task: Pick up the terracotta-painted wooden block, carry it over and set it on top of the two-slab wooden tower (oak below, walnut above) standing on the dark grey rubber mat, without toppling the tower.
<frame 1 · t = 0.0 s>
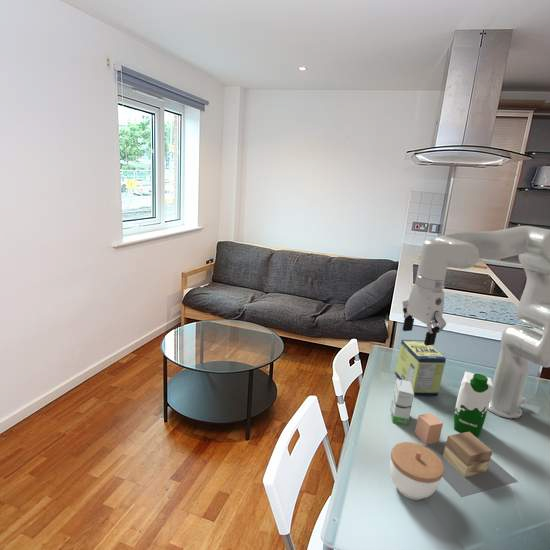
hand: (417, 337, 114), 31 cm above the table, tool pointing down, fingers open, 9 cm apart
lidded bowl: (410, 488, 99), on the table
oak slab: (464, 463, 108), resting on rubber mat, touching walnut slab
walnut slab: (466, 453, 107), point 4 cm above the table, touching oak slab
protein box: (415, 385, 149), on the table
milk carton: (465, 428, 125), on the table
terracotta block: (426, 438, 118), on the table
rubber mat: (463, 464, 108), on the table
ink box: (398, 417, 127), on the table
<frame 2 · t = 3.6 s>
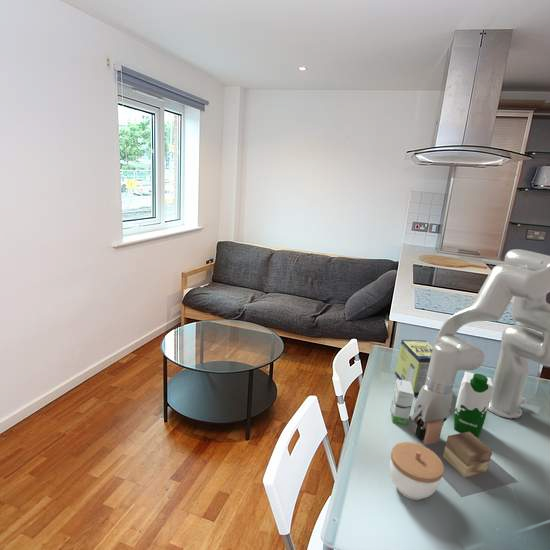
hand: (426, 435, 118), 1 cm above the table, tool pointing down, fingers closed on terracotta block, 5 cm apart
terracotta block: (426, 438, 118), on the table, touching gripper
everything else where it was.
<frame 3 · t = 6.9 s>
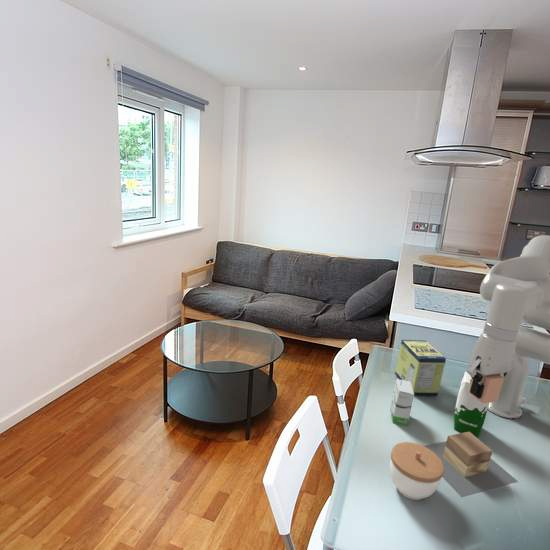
hand: (483, 393, 102), 23 cm above the table, tool pointing down, fingers closed on terracotta block, 5 cm apart
terracotta block: (482, 396, 102), point 22 cm above the table, touching gripper
everything else where it was.
when the fingers open (9 cm above the table, at t = 10.1 s): terracotta block stays where it is, resting on walnut slab.
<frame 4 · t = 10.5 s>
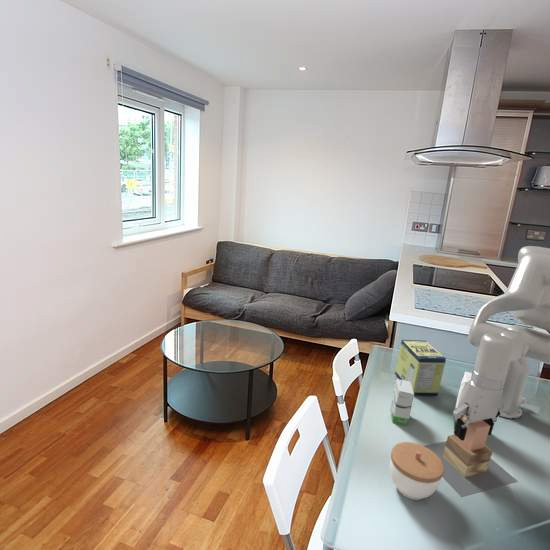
hand: (472, 434, 106), 10 cm above the table, tool pointing down, fingers open, 9 cm apart
walnut slab: (466, 453, 107), point 4 cm above the table, touching oak slab, terracotta block
terracotta block: (469, 443, 106), point 7 cm above the table, touching walnut slab
everything else where it was.
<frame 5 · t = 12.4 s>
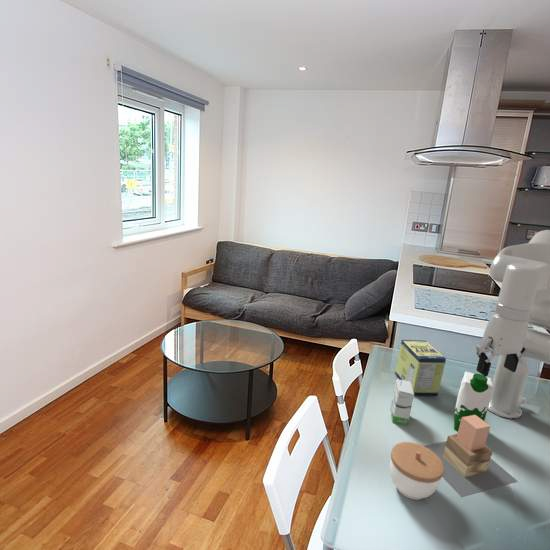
hand: (495, 371, 102), 29 cm above the table, tool pointing down, fingers open, 9 cm apart
nothing on the table moved.
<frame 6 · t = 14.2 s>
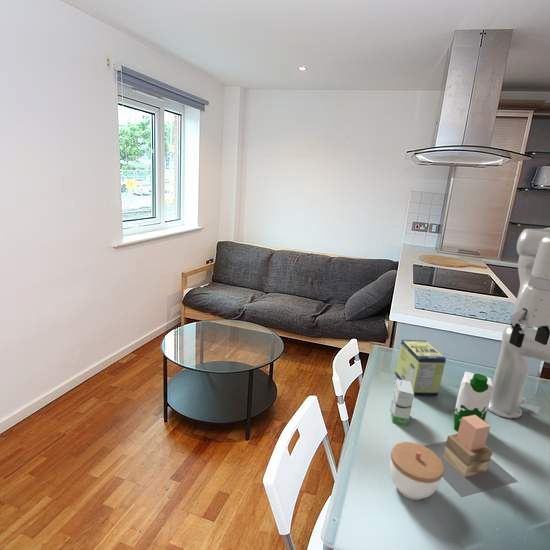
hand: (527, 343, 104), 36 cm above the table, tool pointing down, fingers open, 9 cm apart
nothing on the table moved.
at the end: terracotta block 0.1 cm from the walnut slab (horizontally); terracotta block point 7.4 cm above the table; walnut slab tilted 0° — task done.
